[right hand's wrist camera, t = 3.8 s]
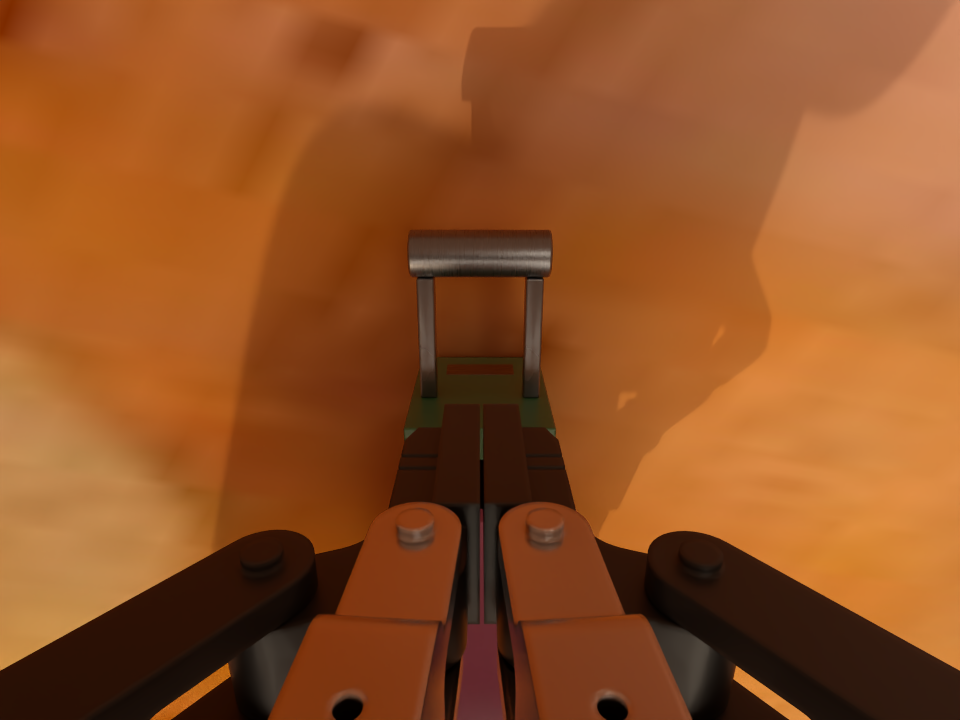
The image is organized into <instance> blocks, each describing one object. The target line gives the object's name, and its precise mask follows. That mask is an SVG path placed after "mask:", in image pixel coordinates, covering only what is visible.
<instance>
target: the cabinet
mask: <svg viewBox="0 0 960 720" xmlns="http://www.w3.org/2000/svg"><path fill="white" fill-rule="evenodd" d="M457 720H503V716H502V707H501V699H500V691H499V682H498V674H497V624H484V565H483V509H480V624H468V626H467V645H466V649H465V652H464V654H463V674H462V682H461V691H460V699H459V707H458V716H457Z"/></svg>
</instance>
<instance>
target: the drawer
mask: <svg viewBox="0 0 960 720" xmlns="http://www.w3.org/2000/svg"><path fill="white" fill-rule="evenodd" d="M552 255H553V245H552V234H551V231H549V230H410V232H409V235H408V268H409V273H410V276H411V277H417V280H416V286H417V312H418V338H419V364H420V368H419V372H418V376H417V380H416V384H415V387H414V391H413V395H412V399H411V403H410V407H409V411H408V415H407V418H406V422H405V426H404V442H405V440H406V439H407V438H408V437H409V436H410V435H411V434H412V433H413V432H414V431H415V430H416V429H417V428H418V427H442V421H443V413H444V405H445V404H480V509H483V404H518V405H519V411H520V419H521V426H522V427H545V428H546V429H547V430H548V431H549V432H550V433H551V434H552V435H554V436H555V437H556V427H555V423H554V419H553V415H552V411H551V407H550V403H549V399H548V395H547V391H546V387H545V383H544V379H543V375H542V371H541V367H540V364H541V339H542V314H543V288H544V279H543V277H549V276H550V274H551V269H552ZM435 277H525V298H524V334H523V357H437V332H436V294H435Z"/></svg>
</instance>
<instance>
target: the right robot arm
mask: <svg viewBox="0 0 960 720" xmlns="http://www.w3.org/2000/svg"><path fill="white" fill-rule="evenodd" d="M483 565H484V624H497V674H498V682H499V691H500V699H501V707H502V716H503V720H789V719H787V718H786V717H784V716H783V715H782V714H780V713H779V712H778V711H776V710H775V709H773V708H772V707H771V706H769V705H768V704H767V703H765V702H764V701H762V700H761V699H760V698H758V697H757V696H756V695H754V694H753V693H751V692H750V691H749V690H747V689H746V688H745V687H743V686H742V685H740V684H739V683H738V682H736V681H735V680H734V679H733V678H734V673H735V668H736V666H738V667H739V668H741V669H742V670H743V671H745V672H746V673H748V674H749V675H750V676H752V677H753V678H755V679H756V680H758V681H759V682H760V683H762V684H763V685H765V686H766V687H767V688H769V689H770V690H772V691H773V692H775V693H776V694H777V695H779V696H780V697H782V698H783V699H784V700H786V701H787V702H789V703H790V704H791V705H793V706H794V707H796V708H797V709H799V710H800V711H801V712H803V713H804V714H805V715H807V716H808V717H809V718H810V719H811V720H960V671H959V670H957V669H956V668H954V667H952V666H950V665H948V664H946V663H945V662H943V661H941V660H939V659H937V658H936V657H934V656H932V655H930V654H928V653H926V652H925V651H923V650H921V649H919V648H917V647H916V646H914V645H912V644H910V643H908V642H907V641H905V640H903V639H901V638H899V637H897V636H896V635H894V634H892V633H890V632H888V631H887V630H885V629H883V628H881V627H879V626H878V625H876V624H874V623H872V622H870V621H868V620H867V619H865V618H863V617H861V616H859V615H858V614H856V613H854V612H852V611H850V610H849V609H847V608H845V607H843V606H841V605H839V604H838V603H836V602H834V601H832V600H830V599H829V598H827V597H825V596H823V595H821V594H820V593H818V592H816V591H814V590H812V589H810V588H809V587H807V586H805V585H803V584H801V583H800V582H798V581H796V580H794V579H792V578H790V577H789V576H787V575H785V574H783V573H781V572H780V571H778V570H776V569H774V568H772V567H771V566H769V565H767V564H765V563H763V562H761V561H760V560H758V559H756V558H754V557H752V556H751V555H749V554H747V553H745V552H743V551H742V550H740V549H738V548H736V547H734V546H732V545H731V544H729V543H727V542H725V541H723V540H721V539H719V538H716V537H713V536H711V535H707V534H703V533H698V532H691V531H676V532H670V533H667V534H663V535H661V536H659V537H658V538H656V539H655V540H654V541H653V542H652V543H651V545H650V547H649V549H648V554H646V553H642V552H637V551H633V550H628V549H624V548H620V547H616V546H613V545H611V544H608V543H606V542H604V541H601V540H599V539H598V538H596V537H595V536H594V535H593V532H592V530H591V527H590V525H589V523H588V522H587V520H586V519H585V518H584V517H583V516H582V515H581V514H579V513H578V512H576V509H575V505H574V501H573V497H572V493H571V489H570V485H569V481H568V477H567V473H566V470H565V465H564V461H563V457H562V453H561V449H560V445H559V441H558V439H557V438H556V437H555V436H554V435H552V434H551V433H550V432H549V431H548V430H547V429H546V428H545V427H522V426H521V419H520V411H519V405H518V404H483ZM468 624H480V404H445V405H444V413H443V421H442V427H418V428H417V429H416V430H415V431H414V432H413V433H412V434H411V435H410V436H409V437H408V438H407V439H406V440H405V442H404V446H403V450H402V457H401V459H400V463H399V470H398V471H397V475H396V479H395V484H394V488H393V492H392V496H391V500H390V504H389V509H387V510H385V511H384V512H382V513H381V514H379V515H378V516H377V517H376V518H375V519H374V520H373V522H372V523H371V525H370V527H369V530H368V532H367V535H366V537H365V540H363V541H361V542H359V543H357V544H354V545H352V546H349V547H345V548H342V549H337V550H333V551H328V552H324V553H319V554H315V552H314V547H313V545H312V543H311V542H310V540H309V539H308V538H306V537H305V536H303V535H301V534H299V533H297V532H293V531H288V530H268V531H262V532H258V533H254V534H251V535H248V536H245V537H243V538H241V539H239V540H237V541H235V542H233V543H231V544H229V545H228V546H226V547H224V548H222V549H220V550H218V551H217V552H215V553H213V554H211V555H209V556H208V557H206V558H204V559H202V560H200V561H199V562H197V563H195V564H193V565H191V566H189V567H188V568H186V569H184V570H182V571H180V572H179V573H177V574H175V575H173V576H171V577H170V578H168V579H166V580H164V581H162V582H160V583H159V584H157V585H155V586H153V587H151V588H150V589H148V590H146V591H144V592H142V593H141V594H139V595H137V596H135V597H133V598H131V599H130V600H128V601H126V602H124V603H122V604H121V605H119V606H117V607H115V608H113V609H112V610H110V611H108V612H106V613H104V614H102V615H101V616H99V617H97V618H95V619H93V620H92V621H90V622H88V623H86V624H84V625H82V626H81V627H79V628H77V629H75V630H73V631H72V632H70V633H68V634H66V635H64V636H63V637H61V638H59V639H57V640H55V641H53V642H52V643H50V644H48V645H46V646H44V647H43V648H41V649H39V650H37V651H35V652H34V653H32V654H30V655H28V656H26V657H24V658H23V659H21V660H19V661H17V662H15V663H14V664H12V665H10V666H8V667H6V668H5V669H3V670H1V671H0V720H150V719H151V718H152V717H153V716H154V715H155V714H156V713H158V712H159V711H160V710H161V709H163V708H164V707H166V706H167V705H169V704H170V703H171V702H173V701H174V700H176V699H177V698H178V697H180V696H181V695H183V694H184V693H186V692H187V691H188V690H190V689H191V688H193V687H194V686H195V685H197V684H198V683H200V682H201V681H202V680H204V679H205V678H207V677H208V676H210V675H211V674H212V673H214V672H215V671H217V670H218V669H219V668H221V667H222V666H224V665H225V664H227V663H228V665H229V670H230V675H231V677H229V678H228V679H226V680H225V681H224V682H222V683H221V684H220V685H218V686H217V687H215V688H214V689H213V690H211V691H210V692H209V693H207V694H206V695H204V696H203V697H202V698H200V699H199V700H198V701H196V702H195V703H193V704H192V705H191V706H189V707H188V708H187V709H185V710H184V711H182V712H181V713H180V714H178V715H177V716H176V717H174V718H173V719H171V720H457V716H458V707H459V699H460V691H461V682H462V674H463V654H464V652H465V649H466V645H467V626H468Z"/></svg>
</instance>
